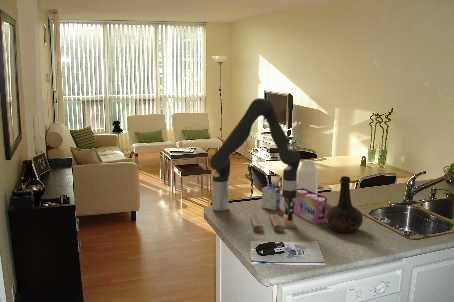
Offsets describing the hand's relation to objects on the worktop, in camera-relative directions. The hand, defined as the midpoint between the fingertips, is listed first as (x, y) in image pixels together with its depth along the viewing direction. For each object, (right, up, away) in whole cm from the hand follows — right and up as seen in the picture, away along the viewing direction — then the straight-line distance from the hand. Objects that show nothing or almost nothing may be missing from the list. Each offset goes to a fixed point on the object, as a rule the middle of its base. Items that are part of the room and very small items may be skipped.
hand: (288, 217), depth 231 cm
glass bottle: (+28, -6, -6) cm, 29 cm away
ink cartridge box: (-6, +1, +30) cm, 31 cm away
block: (0, -3, +1) cm, 4 cm away
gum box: (+13, -2, +14) cm, 20 cm away
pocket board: (-12, -4, 0) cm, 13 cm away
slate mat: (0, -4, +1) cm, 4 cm away
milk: (+18, +4, +45) cm, 49 cm away
